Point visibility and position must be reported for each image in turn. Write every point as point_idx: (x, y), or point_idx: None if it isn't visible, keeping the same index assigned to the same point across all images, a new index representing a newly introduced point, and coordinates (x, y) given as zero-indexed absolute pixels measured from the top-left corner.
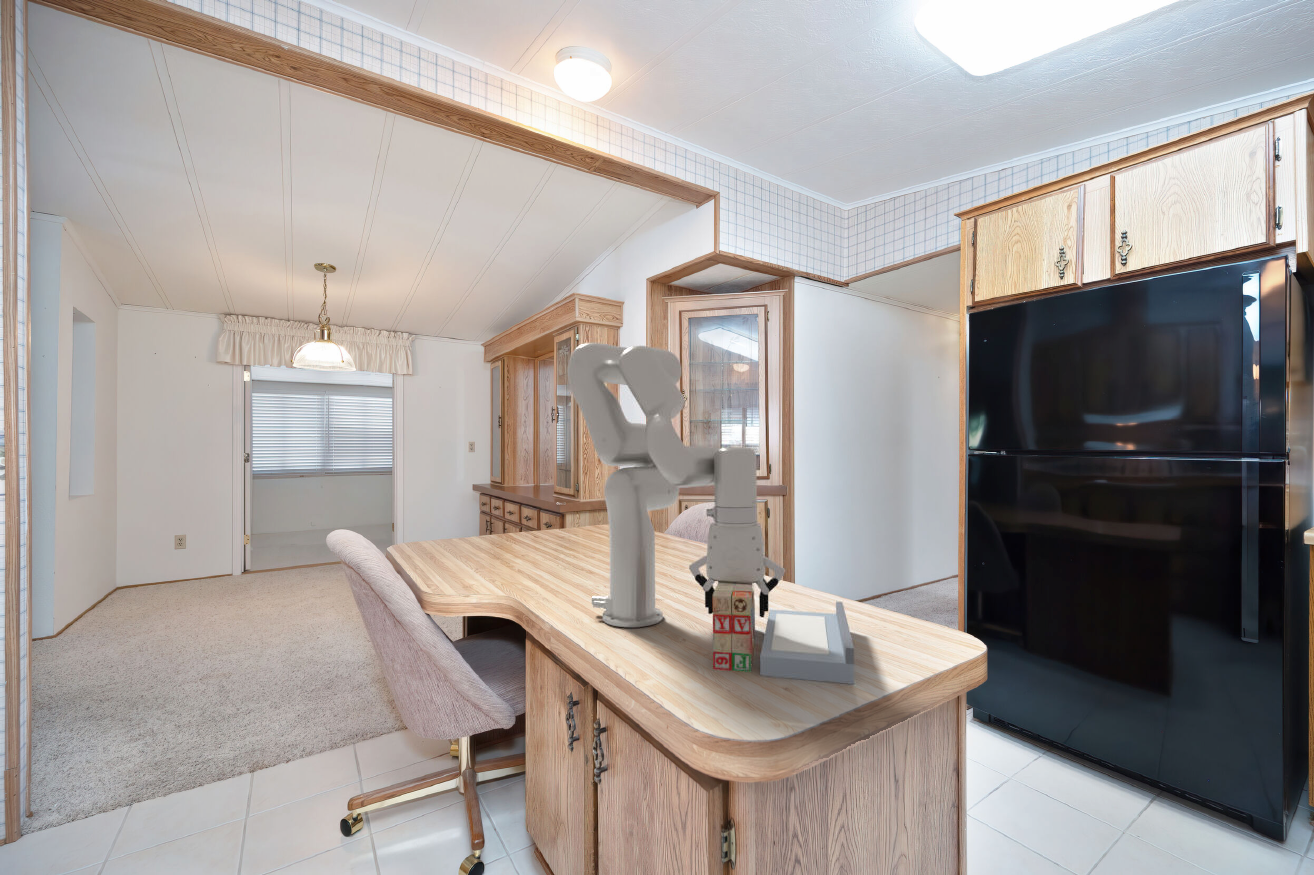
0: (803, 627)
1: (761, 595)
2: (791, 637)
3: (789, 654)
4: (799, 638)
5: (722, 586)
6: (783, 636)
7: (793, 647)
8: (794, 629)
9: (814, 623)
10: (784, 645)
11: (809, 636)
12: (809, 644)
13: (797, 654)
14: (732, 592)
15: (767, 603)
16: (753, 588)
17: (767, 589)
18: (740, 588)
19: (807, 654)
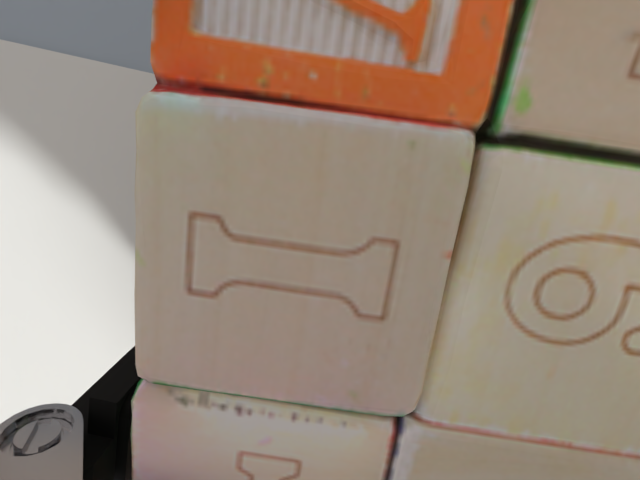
0: (47, 368)
1: (111, 396)
2: (100, 246)
3: (120, 28)
4: (66, 235)
5: (597, 419)
6: (134, 258)
7: (95, 112)
8: (84, 345)
9: (2, 413)
10: (135, 141)
11: (23, 261)
12: (24, 157)
13: (84, 31)
14: (504, 59)
15: (111, 370)
16: None
17: (5, 450)
18: (328, 259)
19: (38, 30)
